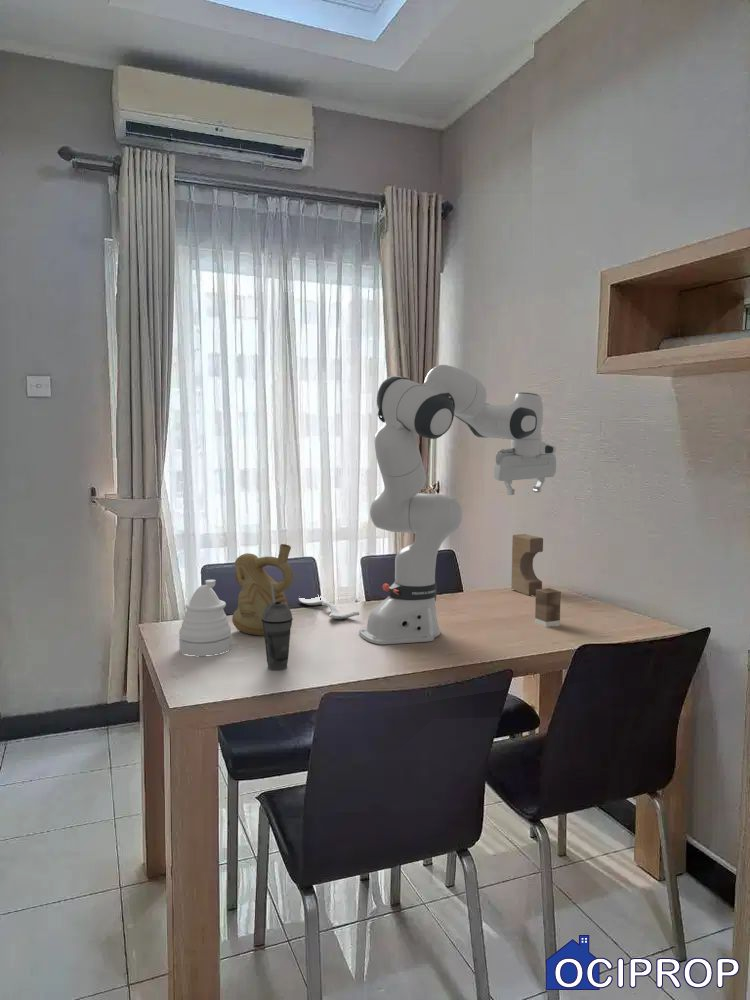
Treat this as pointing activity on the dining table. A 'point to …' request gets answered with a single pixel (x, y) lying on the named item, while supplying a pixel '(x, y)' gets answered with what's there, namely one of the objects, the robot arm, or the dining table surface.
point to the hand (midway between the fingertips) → (524, 493)
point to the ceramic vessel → (259, 588)
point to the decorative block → (525, 563)
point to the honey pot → (205, 624)
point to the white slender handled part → (334, 612)
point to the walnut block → (547, 607)
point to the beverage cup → (277, 633)
